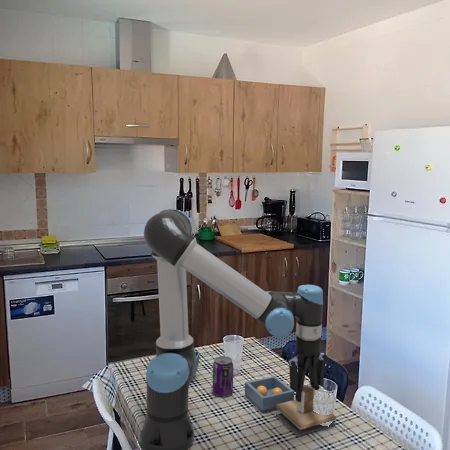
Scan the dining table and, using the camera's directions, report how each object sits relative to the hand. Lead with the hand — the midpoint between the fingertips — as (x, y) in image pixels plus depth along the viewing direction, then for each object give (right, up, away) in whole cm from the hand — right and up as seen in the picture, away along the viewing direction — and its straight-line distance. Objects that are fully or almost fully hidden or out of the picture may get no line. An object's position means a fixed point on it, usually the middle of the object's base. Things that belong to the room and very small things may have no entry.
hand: (305, 408), depth 139 cm
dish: (-10, -2, +12) cm, 16 cm away
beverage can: (-26, -2, +17) cm, 31 cm away
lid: (0, -2, 0) cm, 2 cm away
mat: (0, -4, +1) cm, 4 cm away
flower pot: (-40, 0, +27) cm, 48 cm away
